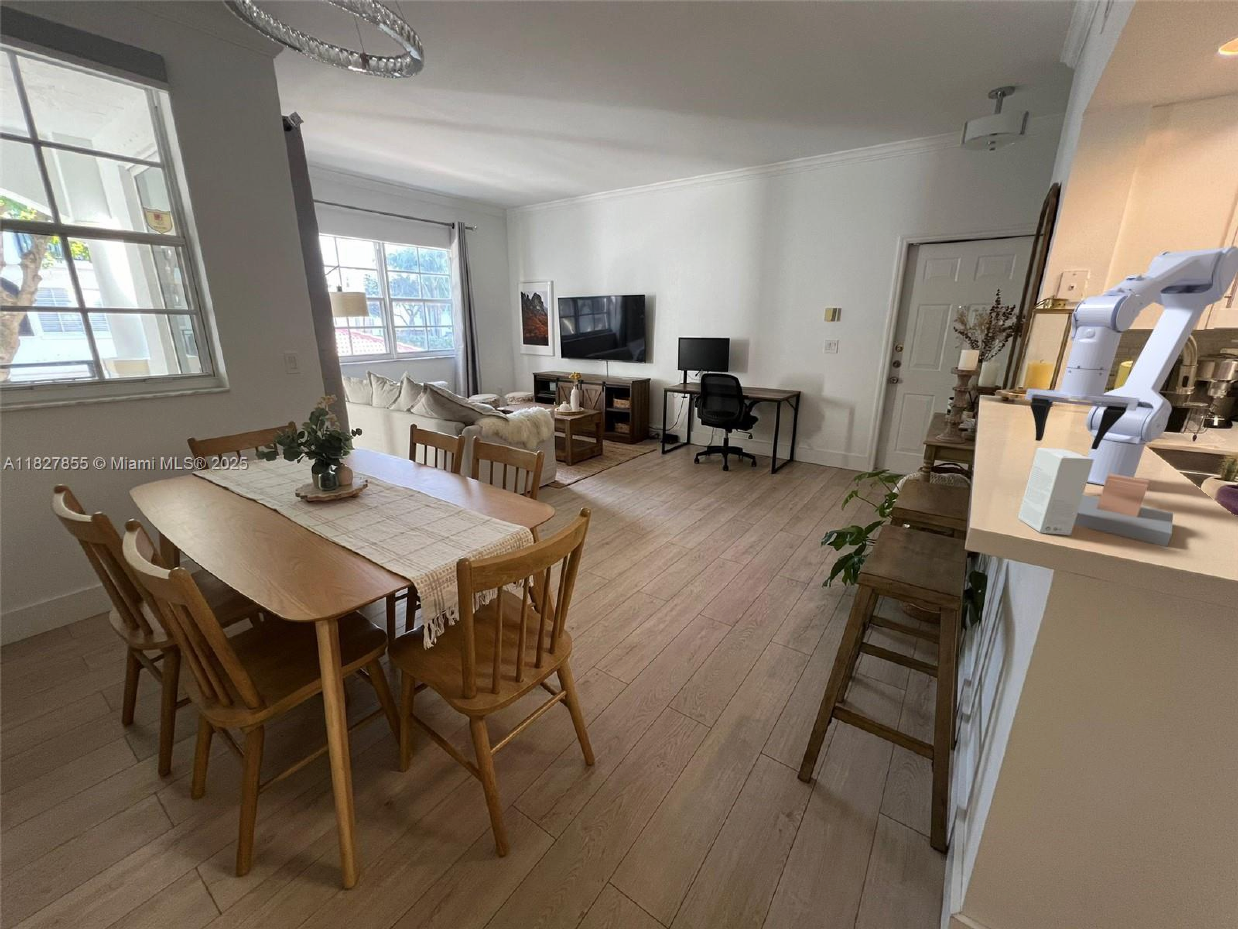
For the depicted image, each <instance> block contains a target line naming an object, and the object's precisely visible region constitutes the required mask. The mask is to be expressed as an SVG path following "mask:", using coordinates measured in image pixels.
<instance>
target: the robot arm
mask: <svg viewBox="0 0 1238 929" xmlns="http://www.w3.org/2000/svg"><path fill="white" fill-rule="evenodd" d="M1237 274H1238V247H1237V245H1229V246H1227V247H1217V248H1206V249H1205V248H1204V249H1195V250H1184V251H1183V250H1181V251H1171V252H1170V251H1163V252H1161V253H1159V254H1158V255H1156V256H1155V257H1154V258H1153V260H1152V261H1151V263H1150V264H1149V267H1148V270H1147V272H1145V273H1144V274H1138V273H1137V274H1130V275H1128V276H1126V277H1125V279H1124V280H1123V281H1121V282H1120V283H1118V284H1116V285H1115V286H1114V287H1111V288H1110V289H1108V290H1107V291H1105V292H1104V293H1102V294H1101V295H1093V296H1088V297H1087V298H1086V299H1083V300H1081V301H1080V302H1079V303H1078V304H1077V305H1076V306H1075V308H1074V311H1073V312H1072V315H1071V318H1070V319H1071V320H1070V322H1071V333H1070V340H1071V341H1073V342H1072V344H1071V348H1070V351H1069V352H1070V353H1069V355H1068V359H1067V362H1066V365H1065V366H1066V367H1065V369H1064V373H1063V378H1062V381H1061V384H1060V388H1059V390H1056V389H1055V390H1052V389H1039V388H1028V389H1027V390H1026V393H1025V397H1024V400H1027V401H1031V402H1030V410H1031V411H1032V415H1033V420H1034V423H1035V424H1034V425H1035V439H1034V440H1035V441H1037V442H1041V441H1042V440H1043V437H1044V434H1045V429H1046V425H1047V424H1046V423H1047V420H1048V416H1049V413H1050V410H1051V407H1052V404H1053V403H1058V404H1070V405H1078V406H1090V407H1091V409H1090V410H1089V412H1088V414H1087V416H1086V418H1085V426H1086V429H1087V430H1088V431H1089V432H1090V435H1089V436H1091V437H1093V439H1092V441H1091V445H1090V447H1089V451H1088V453H1087V454H1088V455H1087V457H1088V458H1092V459H1094V461H1093V464H1092V468H1091V471H1090V474H1089V477H1088V480H1087V483H1090V484H1094V485H1095V484H1096V485H1101V486H1104V485H1105V482H1106V479H1107V477H1108V475H1109V474H1114V475H1120V476H1126V477H1131V478H1135V475H1136V472H1137V470H1138V466H1139V464H1140V460H1141V458H1142V455H1143V453H1144V449H1145V446H1146V444H1147V443H1152V442H1154V441H1155V440H1157V439H1158V438H1160V437H1161V436H1162V434H1163V433H1164V431H1165V430H1166V428H1167V425H1168V422H1169V417H1170V415H1171V413H1172V410H1173V408H1172V405H1171V402H1170V401H1169V400H1168V399H1167V398H1165V397H1164V396H1163V395H1162V394H1161V393H1160V391H1161V389H1162V388H1163V385H1164V383H1165V381H1166V380H1167V378H1168V376H1169V375H1170V372H1171V370H1172V368H1173V367H1174V365H1175V363H1176V361H1177V360H1178V358H1179V356H1180V354H1181V352H1182V350H1183V349H1184V347H1185V345H1186V343H1187V341H1188V339H1189V338H1190V336H1191V334H1192V333H1193V330H1194V329H1195V327H1196V325H1197V323H1198V322H1199V319H1200V318H1201V316H1202V315H1203V313H1204V311H1205V310H1206V309H1207V307H1208V306H1210V305H1213V304H1215V303H1217V302H1220V301H1222V299H1223V298H1224V295H1225V294H1227V292H1228V290H1229V289H1230V287H1231V285H1232V283H1233V282H1234V279H1235V278H1236V276H1237ZM1153 303H1155V304H1158V305H1160V306H1162V307H1163V308H1164V310H1163V311H1162V314H1161V315H1160V317H1159V319H1158V321H1157V323H1156V325H1155V327H1154V328H1153V330H1152V332H1151V334H1150V335H1149V338H1148V340H1147V342H1146V344H1145V346H1144V347H1143V349H1142V351H1141V353H1140V354H1139V356H1138V358H1137V360H1136V362H1135V364H1134V365H1133V368H1132V370H1131V371H1130V374H1128V377H1127V379H1126V381H1125V383H1124V384H1123V386H1120V387H1118V388H1115V389H1112V390H1109V391H1106V386H1107V383H1108V381H1109V377H1110V374H1111V369H1112V368H1113V363H1114V360H1115V357H1116V354H1117V351H1118V348H1119V344H1120V341H1121V338H1122V335H1123V332H1124V331H1125V332H1126V331H1128V330H1129V329H1130V328H1131V326H1132V325H1133V323H1134V321H1135V320H1136V318H1138V317H1139V315H1141V314H1140V313H1141V311H1143V310H1145V309H1146V308H1148V307H1149V306H1150V305H1151V304H1153ZM1105 391H1106V392H1105Z"/></svg>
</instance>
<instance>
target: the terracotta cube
mask: <svg viewBox="0 0 1238 929" xmlns="http://www.w3.org/2000/svg"><path fill="white" fill-rule="evenodd" d="M1149 483H1150V480H1148V479H1142V478H1137V477H1134V478H1131V477H1126V476H1120V475H1114V474H1109V475H1108V477H1107V479H1106V482H1105V485H1103V489H1102V491H1101V493H1100V494H1101V495H1100V500H1099V503H1098V506H1097V509H1101V510H1105V511H1110V512H1115V513H1119V514H1124V515H1129V516H1134V517H1137V515H1138V512H1139V510H1140V507H1142V504H1143V502H1144V498H1145V495H1146V493H1147V490H1148V487H1149Z"/></svg>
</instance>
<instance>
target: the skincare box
mask: <svg viewBox="0 0 1238 929" xmlns="http://www.w3.org/2000/svg"><path fill="white" fill-rule="evenodd" d="M1093 461H1094V459H1092V458H1088V456H1085V455H1082V454H1080V453H1077V452H1074V451H1071V450H1068V449H1062V448H1049V447H1048V448H1047V447H1037V448H1036V450H1035V454H1034V458H1033V462H1032V466H1031V469H1030V473H1029V477H1028V480H1027V483H1026V487H1025V491H1024V494H1023V497H1022V502H1021V505H1020V509H1019V512H1018V517H1017V519H1018V520H1020V521H1022V522H1023V523H1025V524H1026V525H1027V526H1029V527H1031V528H1032V529H1034V530H1036V532H1039V533H1040V534H1050V535H1051V534H1052V535H1063V536H1071V535H1072V532H1073V528H1074V522H1075V519H1076V516H1077V513H1078V509H1079V506H1080V503H1081V500H1082V497H1083V495H1084V493H1085V489H1086V486H1087V483H1088V482H1087V480H1088V477H1089V474H1090V471H1091V468H1092V464H1093Z"/></svg>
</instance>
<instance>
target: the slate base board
mask: <svg viewBox="0 0 1238 929" xmlns="http://www.w3.org/2000/svg"><path fill="white" fill-rule="evenodd" d="M1099 500H1100V498H1099V497H1096V496H1090V495H1086V494H1083V497H1082V500H1081V503H1080V506H1079V509H1078V513H1077V516H1076V519H1075V522H1074V525H1075V526H1077V527H1083V528H1086V529H1092V530H1096V531H1101V532H1104V533H1108V534H1112V535H1116V536H1117V535H1118V536H1120V537H1126V538H1130V539H1133V540H1137V541H1143V542H1146V543H1150V544H1155V545H1159V546H1162V547H1168V544H1169V541H1170V539H1171V536H1172V534H1173V532H1172V531H1173V521H1174V520H1173V517H1174V513H1173V512H1170V511H1166V510H1165V511H1164V510H1161V509H1160V510H1159V509H1155V508H1150V507H1145V506H1141V507H1140V510H1139V512H1138V515H1137V517H1134V516H1129V515H1124V514H1119V513H1115V512H1110V511H1105V510H1101V509H1097V506H1098V503H1099Z"/></svg>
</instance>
